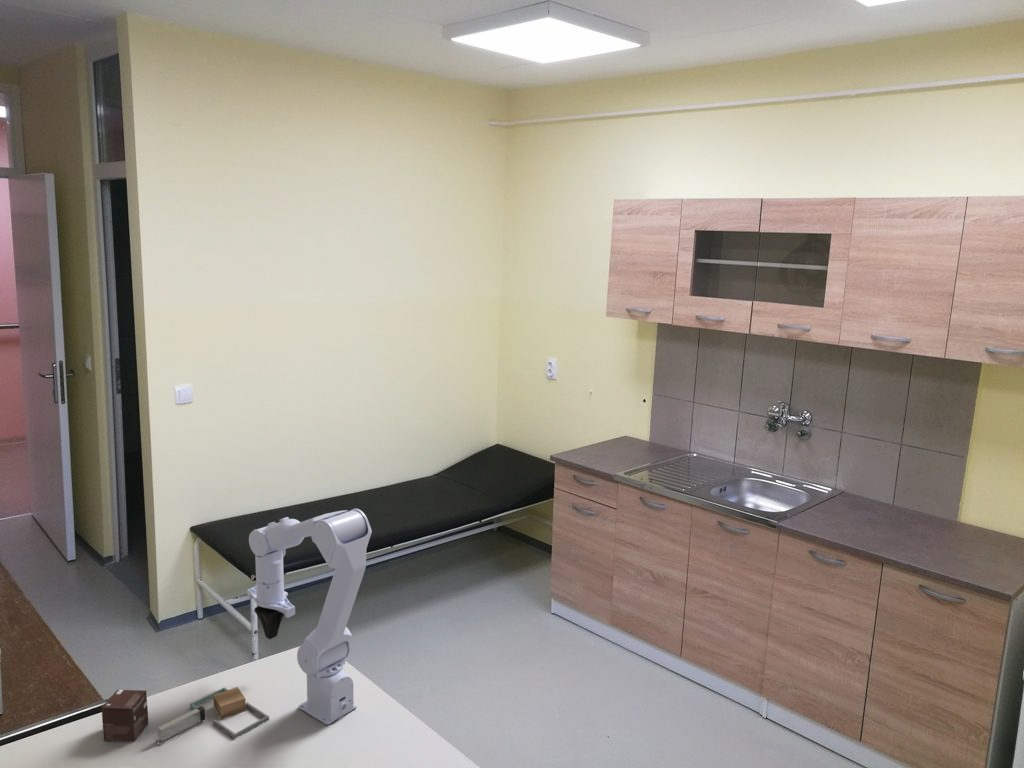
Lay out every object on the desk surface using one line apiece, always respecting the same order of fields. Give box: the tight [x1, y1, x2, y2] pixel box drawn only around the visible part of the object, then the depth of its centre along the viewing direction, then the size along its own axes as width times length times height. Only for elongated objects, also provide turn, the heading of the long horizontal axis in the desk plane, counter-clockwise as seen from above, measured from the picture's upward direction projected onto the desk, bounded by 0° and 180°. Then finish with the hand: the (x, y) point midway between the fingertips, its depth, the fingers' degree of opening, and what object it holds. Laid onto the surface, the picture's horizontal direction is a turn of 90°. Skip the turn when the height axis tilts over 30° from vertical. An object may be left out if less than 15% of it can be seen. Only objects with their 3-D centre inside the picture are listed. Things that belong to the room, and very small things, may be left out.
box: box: [101, 689, 149, 743], centre depth 147 cm, size 6×6×7 cm
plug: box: [212, 686, 247, 720], centre depth 156 cm, size 5×5×3 cm
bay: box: [189, 687, 229, 710], centre depth 158 cm, size 4×8×1 cm, turn 143°
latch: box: [157, 705, 206, 741], centre depth 148 cm, size 1×9×2 cm, turn 143°
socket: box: [155, 702, 270, 746], centre depth 149 cm, size 11×18×1 cm, turn 143°
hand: (271, 636), depth 167 cm, fingers closed
